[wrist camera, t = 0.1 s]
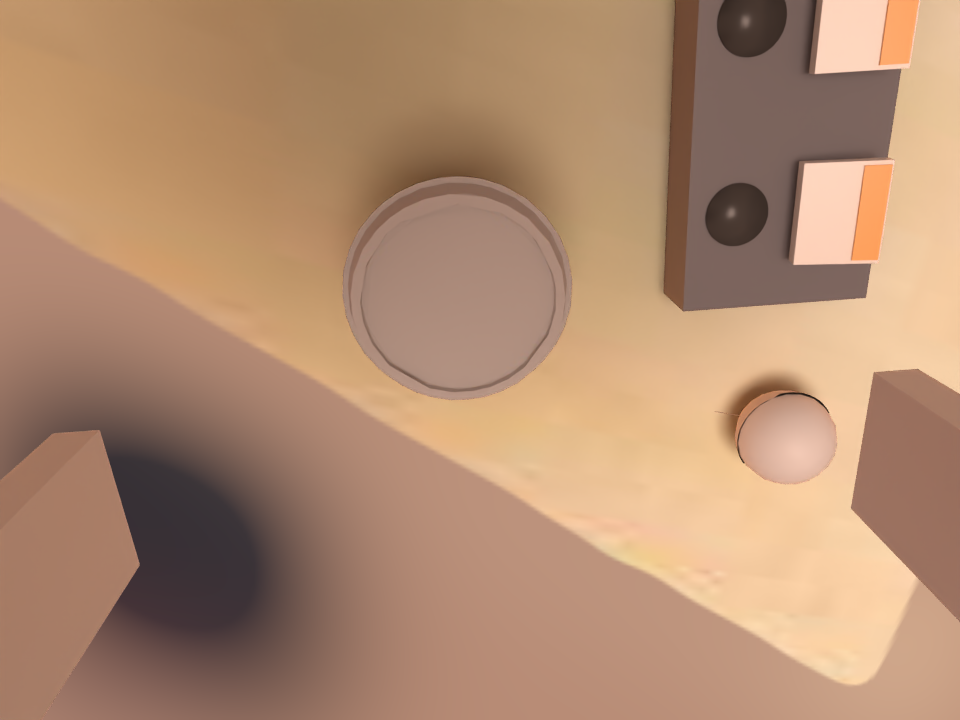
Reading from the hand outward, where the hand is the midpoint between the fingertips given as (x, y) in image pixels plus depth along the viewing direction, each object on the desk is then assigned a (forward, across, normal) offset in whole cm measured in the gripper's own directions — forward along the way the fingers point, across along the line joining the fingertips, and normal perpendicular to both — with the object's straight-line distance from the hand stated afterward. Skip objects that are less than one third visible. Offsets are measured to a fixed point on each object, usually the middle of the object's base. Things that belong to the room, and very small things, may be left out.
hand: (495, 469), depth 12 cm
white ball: (+28, +18, -14) cm, 36 cm away
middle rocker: (+23, +19, +8) cm, 31 cm away
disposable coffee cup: (+28, 0, -2) cm, 28 cm away
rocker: (+23, +19, -1) cm, 30 cm away
